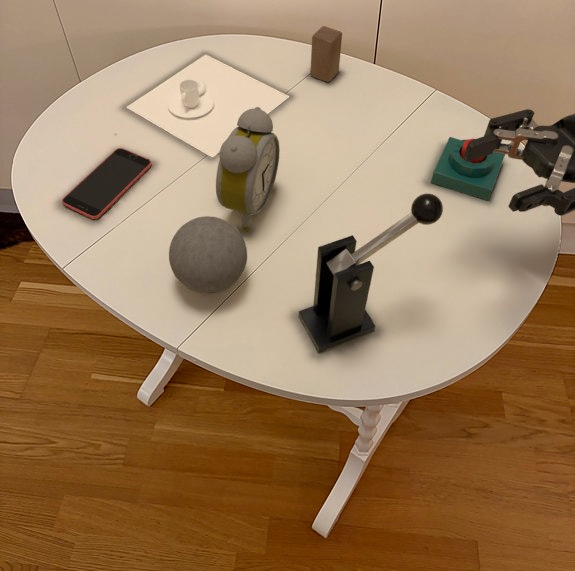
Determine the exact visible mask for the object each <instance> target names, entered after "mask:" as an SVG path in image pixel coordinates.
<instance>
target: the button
mask: <svg viewBox="0 0 575 571" xmlns="http://www.w3.org/2000/svg"><path fill="white" fill-rule="evenodd" d="M474 139H475V138H469V140H467V139H465V140H466V141H465V142H464V144H463V147H462V150H461V157H462V158H463V159H464V160H465V161H467V160H466V159H465V158H464V153H465V150H466V147H467V146H468V143H469V142H470V141H471V140H474ZM484 158H485V156H484V157H481V158H478V159H475V160H472V161H469V162H471V163H480V162H482V161H483V160H484Z"/></svg>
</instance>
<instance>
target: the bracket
mask: <svg viewBox="0 0 575 571" xmlns="http://www.w3.org/2000/svg"><path fill="white" fill-rule="evenodd" d="M356 248H357V239H356V237H355V236H354V235H349V236H346V237H343V238H340V239H338V240H335V241H331V242H329V243H326V244H323V245H320V246H318V247H317V256H316V271H315V282H314V293H313V294H314V295H313V305H311V306H309V307H306V308H304V309H301V310H298V318H299V320H300V322H301V323H302V326H303V327H304V329H305V331H306V332H307V335H308V336H309V338H310V340H311V342H312V343H313V346H314V347H315V349H316V351H317V353H322V352H324V351H327V350H330V349H332V348H334V347H337V346H340V345H342V344H345V343H348V342H350V341H352V340H355V339H357V338H360V337H363V336H365V335H368V334H370V333H372V332H375V330H376V324H375V323H374V321H373V319H372V317H371V316H370V315H369V313H368V311H367V309H366V307H367V302H368V298H369V293H370V288H371V283H372V278H373V274H374V270H375V266H374V265H373V263H372V261H371V260H367V261H363V262H361V263H360V264H359V265H356V266H353V267H350V268H348V269H345V270H342V271H339V272H336V273H334V275H333V273H332V272H331V270H330V268H329V267H328V265H327V262H328V261H329V260H331V259H332V258H334V257H335V256H337V255H338V254H339V253H341V252H342V251H344V250H345V249H347V250H348V251H349V252H350V253H351V254H352V253H354V252H355V251H356V250H357V249H356Z"/></svg>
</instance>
